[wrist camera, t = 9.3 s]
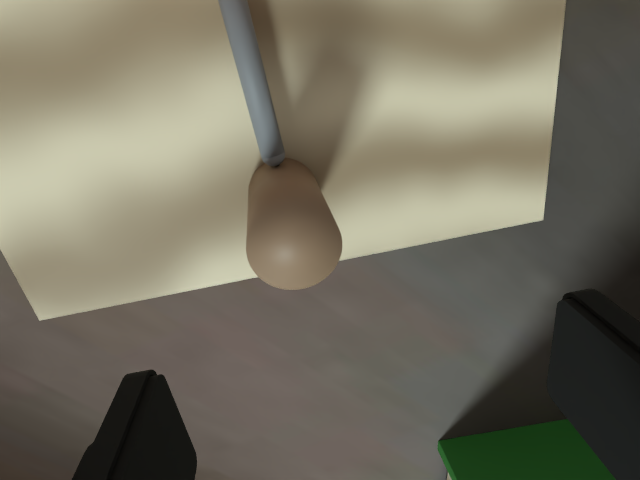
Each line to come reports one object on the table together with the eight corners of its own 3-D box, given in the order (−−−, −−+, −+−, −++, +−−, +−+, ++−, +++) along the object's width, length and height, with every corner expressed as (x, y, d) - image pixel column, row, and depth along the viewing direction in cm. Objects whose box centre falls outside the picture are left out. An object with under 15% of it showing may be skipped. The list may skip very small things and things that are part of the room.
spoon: (351, 207, 20) (388, 266, 14) (230, 238, 19) (221, 310, 14) (250, -336, 12) (248, -649, 7) (47, -297, 12) (-126, -590, 6)
